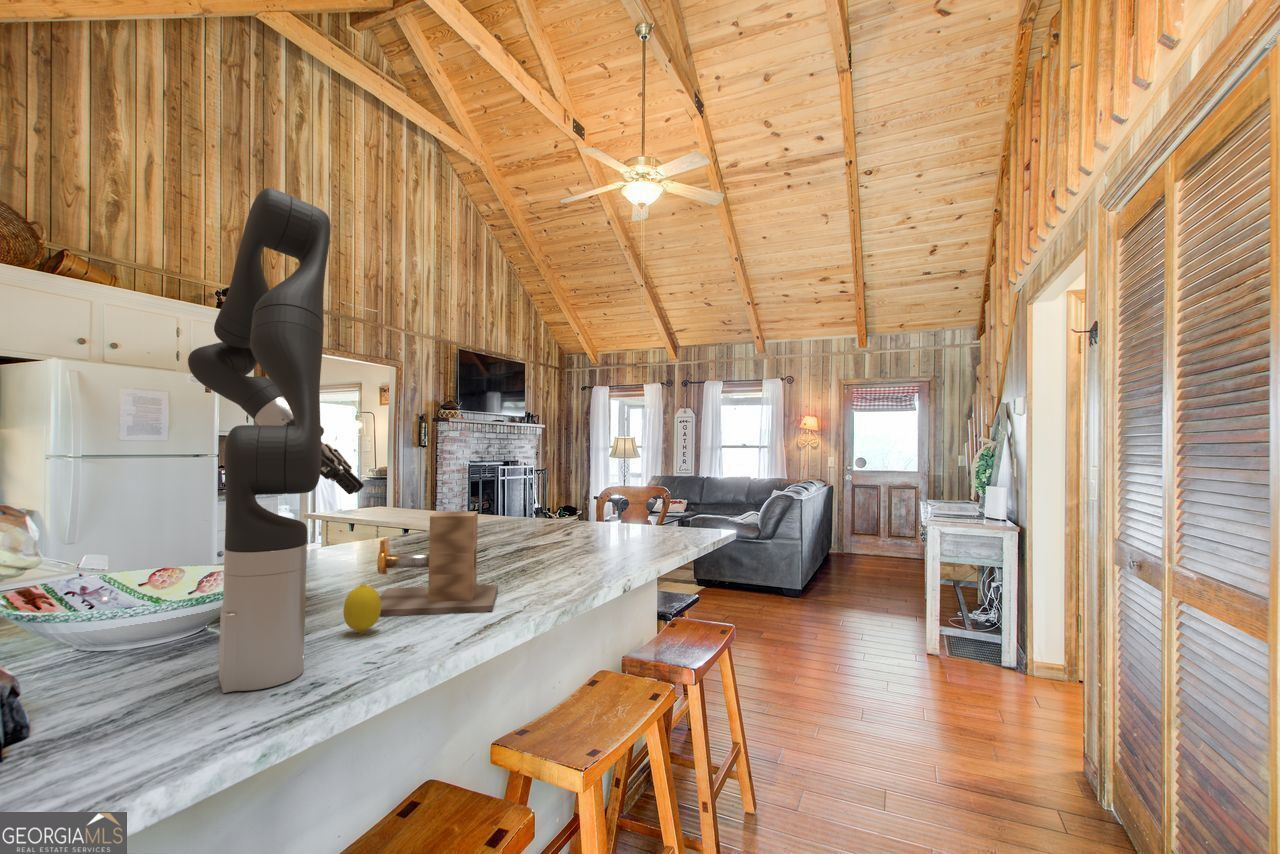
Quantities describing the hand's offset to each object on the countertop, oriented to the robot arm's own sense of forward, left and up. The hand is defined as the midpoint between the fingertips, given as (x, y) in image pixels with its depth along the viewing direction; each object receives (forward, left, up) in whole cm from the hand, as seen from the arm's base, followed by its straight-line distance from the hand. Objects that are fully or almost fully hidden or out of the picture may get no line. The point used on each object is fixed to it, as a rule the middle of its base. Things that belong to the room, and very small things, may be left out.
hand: (357, 490), depth 111 cm
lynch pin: (+9, -5, -16) cm, 19 cm away
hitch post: (+13, -7, -22) cm, 27 cm away
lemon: (-3, -18, -22) cm, 29 cm away
